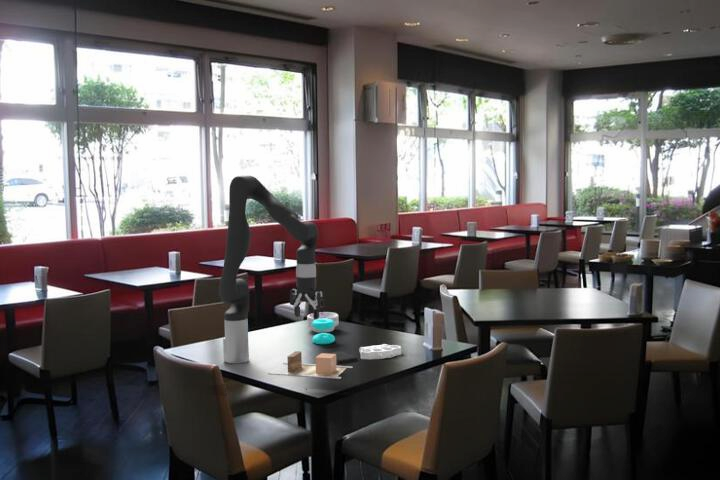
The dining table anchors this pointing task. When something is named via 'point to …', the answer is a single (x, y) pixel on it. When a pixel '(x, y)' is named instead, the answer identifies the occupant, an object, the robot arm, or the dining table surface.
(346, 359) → the carrying case or bag
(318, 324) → the donuts
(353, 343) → the dining table surface
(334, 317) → the clear glass round bowl
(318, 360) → the block
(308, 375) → the rails
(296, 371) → the wooden stand
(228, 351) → the robot arm
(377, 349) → the white brass knuckles
